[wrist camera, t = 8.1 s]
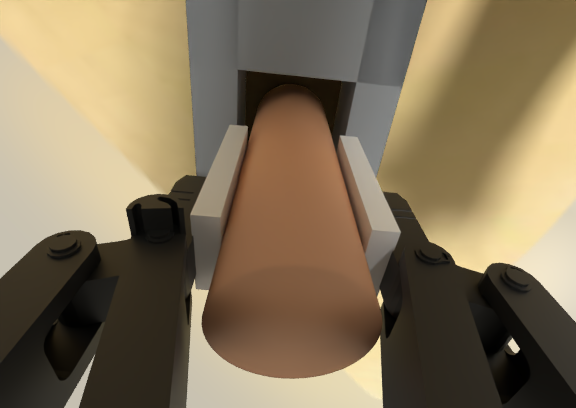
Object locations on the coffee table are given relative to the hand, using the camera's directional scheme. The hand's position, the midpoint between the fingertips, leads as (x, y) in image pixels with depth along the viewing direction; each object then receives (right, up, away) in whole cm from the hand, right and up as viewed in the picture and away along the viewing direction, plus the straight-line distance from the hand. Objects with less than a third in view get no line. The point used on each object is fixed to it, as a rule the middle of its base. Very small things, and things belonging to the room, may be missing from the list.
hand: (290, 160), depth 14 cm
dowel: (0, +3, +5) cm, 5 cm away
